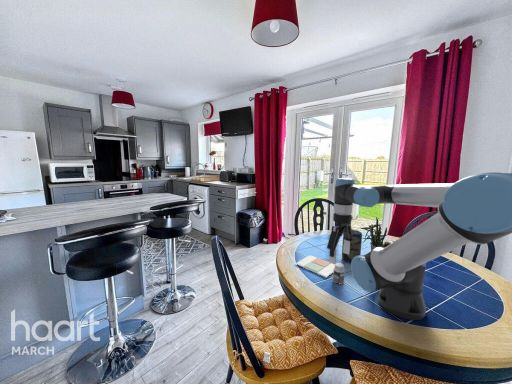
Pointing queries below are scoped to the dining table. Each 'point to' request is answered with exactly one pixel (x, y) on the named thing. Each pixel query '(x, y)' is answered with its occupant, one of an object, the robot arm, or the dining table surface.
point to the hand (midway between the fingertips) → (339, 258)
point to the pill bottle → (338, 273)
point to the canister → (353, 246)
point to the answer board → (317, 265)
